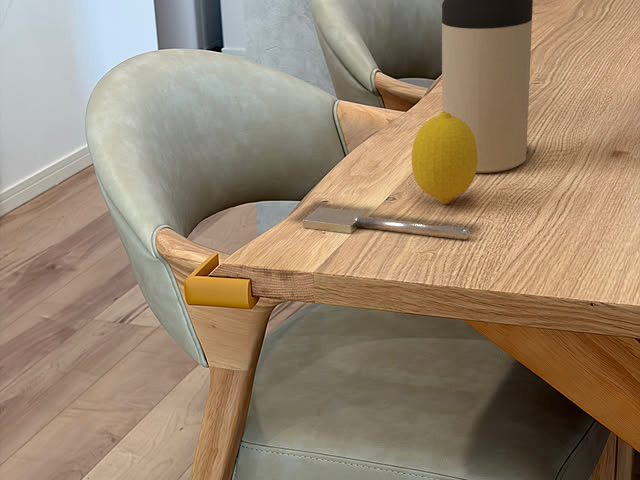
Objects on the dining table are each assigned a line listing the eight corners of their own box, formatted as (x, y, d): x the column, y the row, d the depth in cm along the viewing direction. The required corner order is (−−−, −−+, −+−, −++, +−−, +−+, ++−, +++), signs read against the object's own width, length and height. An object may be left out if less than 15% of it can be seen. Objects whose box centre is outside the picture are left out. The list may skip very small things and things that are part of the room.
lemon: (425, 190, 82) (424, 101, 78) (485, 195, 79) (487, 105, 76) (402, 211, 77) (400, 118, 74) (465, 218, 75) (466, 123, 71)
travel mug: (468, 180, 83) (471, -28, 75) (427, 157, 90) (425, -36, 81) (542, 165, 86) (553, -39, 77) (497, 144, 92) (502, -46, 84)
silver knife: (475, 232, 72) (475, 221, 72) (463, 247, 70) (463, 236, 69) (319, 214, 78) (319, 204, 78) (303, 227, 75) (302, 217, 75)
